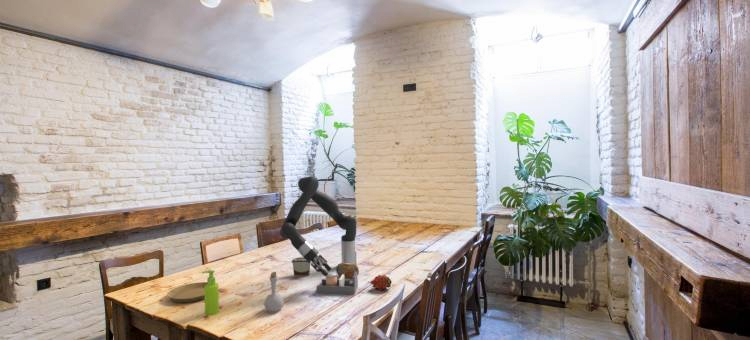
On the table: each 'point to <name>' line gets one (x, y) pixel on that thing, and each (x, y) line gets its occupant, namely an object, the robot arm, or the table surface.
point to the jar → (331, 279)
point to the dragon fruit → (381, 282)
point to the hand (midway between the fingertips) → (328, 272)
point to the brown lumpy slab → (347, 270)
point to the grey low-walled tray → (339, 287)
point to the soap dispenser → (211, 295)
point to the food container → (301, 267)
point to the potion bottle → (273, 297)
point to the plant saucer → (188, 292)
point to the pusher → (341, 281)
